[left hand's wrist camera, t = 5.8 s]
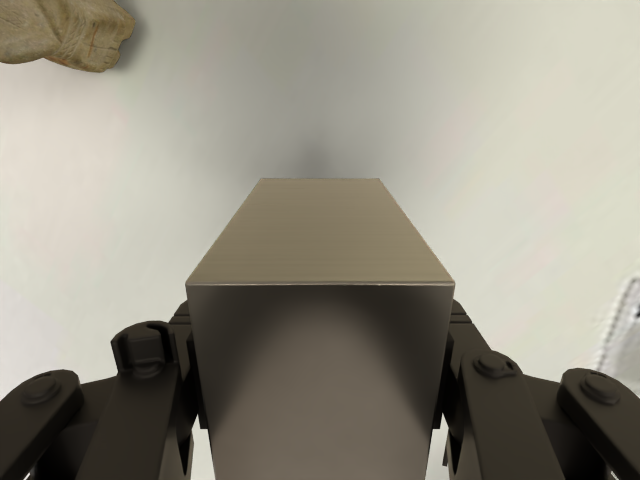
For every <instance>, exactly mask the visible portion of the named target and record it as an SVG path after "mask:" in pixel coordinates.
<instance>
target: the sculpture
mask: <svg viewBox="0 0 640 480" xmlns="http://www.w3.org/2000/svg"><path fill="white" fill-rule="evenodd" d="M134 25H135V20H134V18H133V17H132V16H131V15H130V14H129V13H128V12H127V11H126V10H124V9H122V8H121V7H120V6H119V5H118V4H117V3H115V2H114V1H113V0H0V62H2V63H6V64H20V63H26V62H31V61H34V60H37V59H40V58H45V59H48V60H50V61H52V62H55V63H57V64H60V65H63V66H66V67H70V68H73V69H78V70H82V71H87V72H96V73H101V72H104V71H105V70H106V69H107V68H108V69H110V68H113V67H114V65H115V64H116V62H117V61H118V59H119V58H120V52H119V50H118V48H119V46H120V44H121V42H122V40H125V39H128V38H129V37H130V36H131V34H132V31H133V28H134Z"/></svg>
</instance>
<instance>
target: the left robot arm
mask: <svg viewBox="0 0 640 480" xmlns="http://www.w3.org/2000/svg"><path fill="white" fill-rule="evenodd" d="M111 346H112V350H113V354H114V358H115V362H116V365H117V369H118V373H117V376H114V377H111V378H107V379H103V380H98V381H94V382H89V383H84V384H80V381H79V378H78V375H77V374H75V373H74V372H73V371H70V370H64V369H62V370H54V371H48V372H45V373H42V374H39V375H36V376H34V377H32V378H30V379H28V380H26V381H24V382H23V383H21V384H20V385H19V386H17V387H16V388H15V389H13V390H12V391H11V392H10V393H9V394H8V395H7V396H5V397H4V398H3V399H2V400H1V401H0V480H23V479H24V478H25V477H26V476H27V474H28V473H29V472H30V475H29V477H28V478H27V479H26V480H190V478H191V468H192V458H193V448H194V441H193V435H192V427H193V425H194V422H195V419H196V417H197V414H198V417H199V423H200V429H208V428H207V422H206V415H205V409H204V402H203V396H202V389H201V383H200V377H199V370H198V364H197V357H196V351H195V344H194V338H193V331H192V325H191V318H190V312H189V306H188V300H186V301H185V302H184V303H182V304H181V305H180V306H179V308H178V309H177V311H176V312H175V314H174V316H173V317H172V318H171V320H170V321H169V323H167V322H163V321H146V322H141V323H137V324H134V325H132V326H130V327H127V328H125V329H124V330H122V331H121V332H119V333H118V334H116V335H115V337H114V338H113V339H112V340H111ZM442 413H443V414H444V417H445V420H446V422H447V425H448V427H449V429H448V435H447V440H446V446H445V452H444V457H443V464H442V466H447V464H448V467H449V477H450V480H616V479H615V478H614V477H613V476H612V474H611V471H613V473H614V474H615V475H616V476H617V478H618V479H619V480H640V399H639V398H638V397H637V396H636V395H635V394H634V393H633V392H632V391H631V390H630V389H628V388H627V387H626V386H624V385H623V384H622V383H620V382H619V381H618V380H616V379H614V378H612V377H610V376H608V375H606V374H603V373H601V372H597V371H594V370H591V369H583V368H574V369H568V370H567V371H566V372H565V373H563V375H562V379H561V382H560V383H558V382H554V381H549V380H544V379H540V378H535V377H531V376H528V375H524V374H523V373H522V371H521V369H520V368H519V366H518V365H517V363H515V362H514V361H513V360H511V359H510V358H509V357H507V356H505V355H503V354H501V353H499V352H497V351H493V350H491V349H490V347H489V346H488V344H487V343H486V341H485V340H484V338H483V337H482V335H481V334H480V332H479V331H478V330H477V328H476V327H475V325H474V324H472V321H471V319H470V318H469V316H468V315H466V312H465V310H464V309H463V307H462V306H461V305H460V303H458V302H457V301H456V300H454V299H453V302H452V309H451V315H450V321H449V328H448V334H447V341H446V347H445V354H444V360H443V366H442V373H441V379H440V386H439V392H438V399H437V405H436V411H435V418H434V424H433V429H440V425H441V419H442Z"/></svg>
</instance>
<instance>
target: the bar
mask: <svg viewBox="0 0 640 480" xmlns="http://www.w3.org/2000/svg"><path fill="white" fill-rule="evenodd" d="M185 286H186V293H187V299H188V306H189V312H190V318H191V325H192V331H193V338H194V344H195V351H196V357H197V364H198V370H199V377H200V383H201V389H202V396H203V402H204V409H205V415H206V422H207V428H208V435H209V441H210V448H211V454H212V461H213V467H214V473H215V480H425V476H426V469H427V463H428V456H429V450H430V444H431V437H432V431H433V424H434V418H435V411H436V405H437V399H438V392H439V386H440V379H441V373H442V366H443V360H444V354H445V347H446V341H447V334H448V328H449V321H450V315H451V309H452V302H453V296H454V289H455V281H454V280H453V279H452V277H451V276H450V275H449V273H448V272H447V270H446V269H445V268H444V266H443V265H442V264H441V262H440V261H439V260H438V258H437V257H436V255H435V254H434V253H433V251H432V250H431V249H430V247H429V246H428V245H427V243H426V242H425V240H424V239H423V238H422V236H421V235H420V234H419V232H418V231H417V230H416V228H415V227H414V225H413V224H412V223H411V221H410V220H409V219H408V217H407V216H406V215H405V213H404V212H403V210H402V209H401V208H400V206H399V205H398V204H397V202H396V201H395V200H394V198H393V197H392V195H391V194H390V193H389V191H388V190H387V189H386V187H385V186H384V185H383V183H382V182H381V180H380V179H260V181H259V182H258V183H257V185H256V186H255V188H254V189H253V190H252V192H251V193H250V194H249V196H248V197H247V199H246V200H245V201H244V203H243V204H242V205H241V207H240V208H239V209H238V211H237V212H236V214H235V215H234V216H233V218H232V219H231V220H230V222H229V223H228V225H227V226H226V227H225V229H224V230H223V231H222V233H221V234H220V235H219V237H218V238H217V240H216V241H215V242H214V244H213V245H212V246H211V248H210V249H209V251H208V252H207V253H206V255H205V256H204V257H203V259H202V260H201V261H200V263H199V264H198V266H197V267H196V268H195V270H194V271H193V272H192V274H191V275H190V277H189V278H188V279H187V281H186V283H185Z"/></svg>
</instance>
